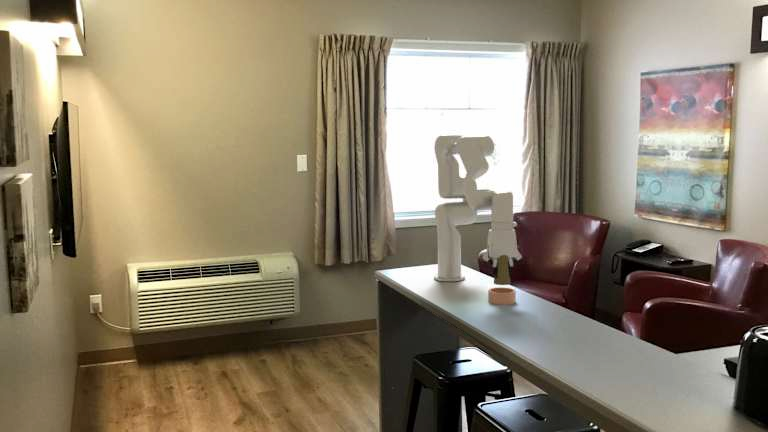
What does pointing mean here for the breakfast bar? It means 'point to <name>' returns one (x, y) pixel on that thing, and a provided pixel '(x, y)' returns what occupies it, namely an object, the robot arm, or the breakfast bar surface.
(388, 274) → the breakfast bar surface
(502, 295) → the pink faceted round bowl
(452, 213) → the robot arm
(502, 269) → the cork
